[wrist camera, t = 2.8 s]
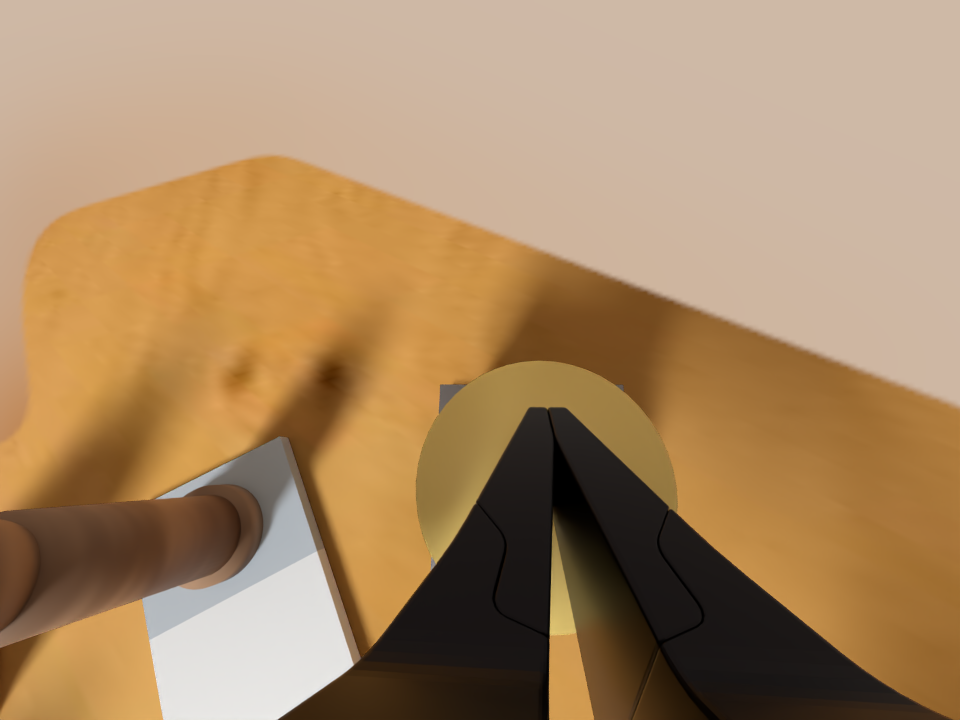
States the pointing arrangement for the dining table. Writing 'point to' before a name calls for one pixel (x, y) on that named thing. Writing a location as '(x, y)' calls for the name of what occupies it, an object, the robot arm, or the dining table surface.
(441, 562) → the robot arm
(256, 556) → the game board
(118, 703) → the dining table surface
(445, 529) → the dome button
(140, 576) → the brown round-topped post
